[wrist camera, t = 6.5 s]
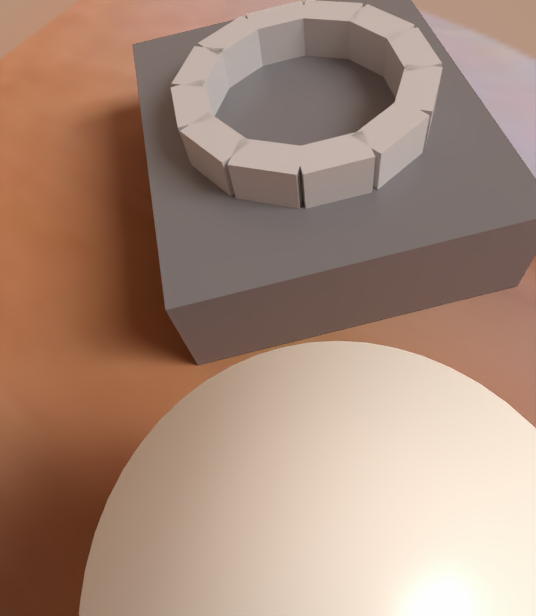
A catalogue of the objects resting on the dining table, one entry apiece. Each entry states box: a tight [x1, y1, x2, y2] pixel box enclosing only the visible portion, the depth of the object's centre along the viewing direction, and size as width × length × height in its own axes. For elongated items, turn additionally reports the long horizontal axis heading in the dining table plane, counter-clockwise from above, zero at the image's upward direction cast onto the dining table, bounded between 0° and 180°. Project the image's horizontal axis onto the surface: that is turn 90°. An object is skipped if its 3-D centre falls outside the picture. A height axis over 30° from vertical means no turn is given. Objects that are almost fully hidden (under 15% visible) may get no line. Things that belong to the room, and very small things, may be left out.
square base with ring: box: [132, 0, 536, 365], centre depth 19 cm, size 12×14×6 cm
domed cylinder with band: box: [79, 341, 536, 616], centre depth 9 cm, size 5×5×10 cm
